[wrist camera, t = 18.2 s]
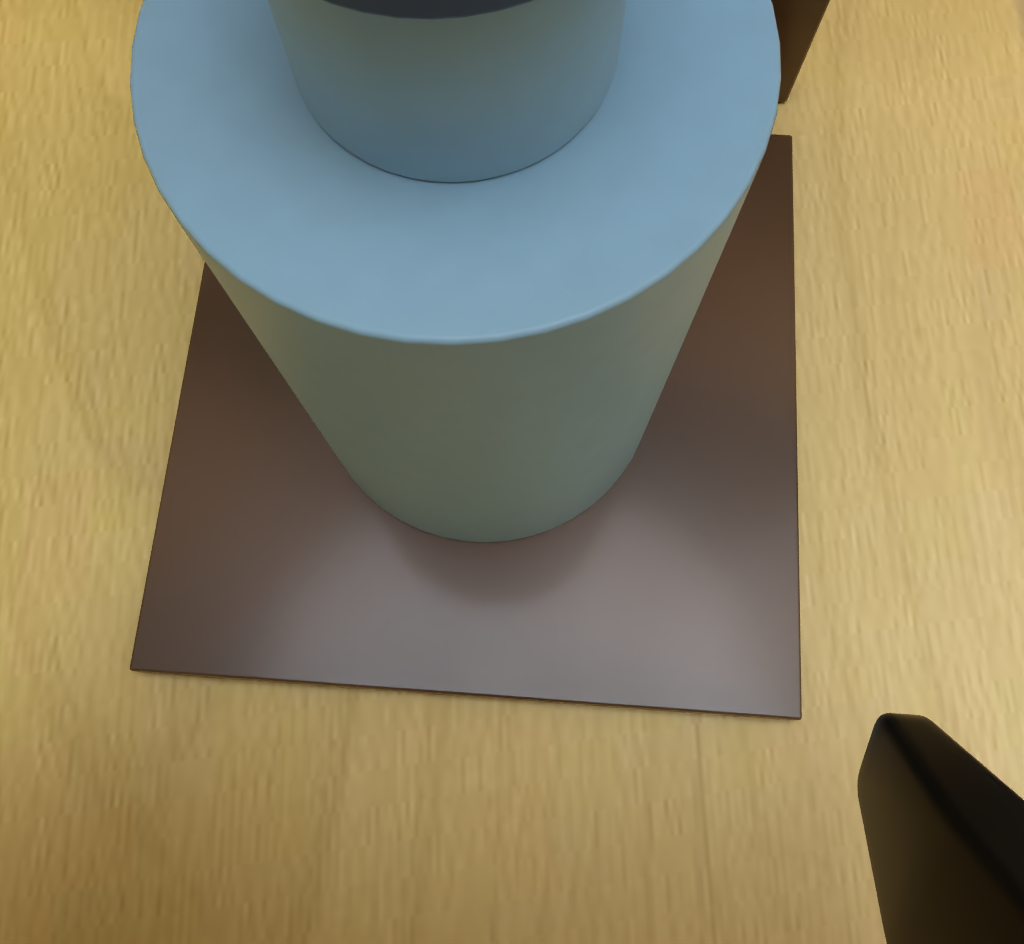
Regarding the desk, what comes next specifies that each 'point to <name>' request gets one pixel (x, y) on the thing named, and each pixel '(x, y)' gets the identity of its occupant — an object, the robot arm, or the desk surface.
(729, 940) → the desk surface
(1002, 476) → the desk surface
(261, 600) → the stand
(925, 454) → the desk surface
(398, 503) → the bottle
